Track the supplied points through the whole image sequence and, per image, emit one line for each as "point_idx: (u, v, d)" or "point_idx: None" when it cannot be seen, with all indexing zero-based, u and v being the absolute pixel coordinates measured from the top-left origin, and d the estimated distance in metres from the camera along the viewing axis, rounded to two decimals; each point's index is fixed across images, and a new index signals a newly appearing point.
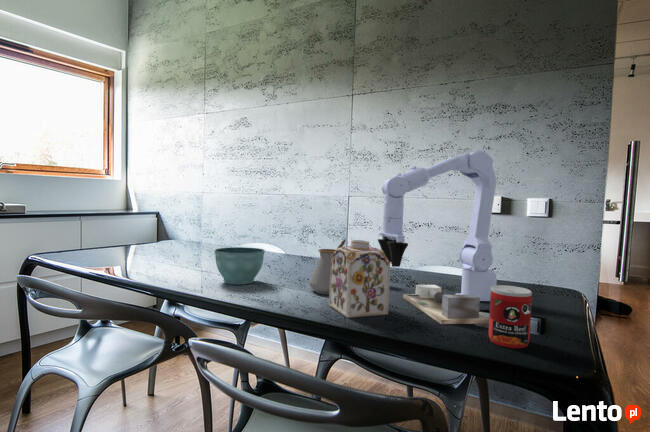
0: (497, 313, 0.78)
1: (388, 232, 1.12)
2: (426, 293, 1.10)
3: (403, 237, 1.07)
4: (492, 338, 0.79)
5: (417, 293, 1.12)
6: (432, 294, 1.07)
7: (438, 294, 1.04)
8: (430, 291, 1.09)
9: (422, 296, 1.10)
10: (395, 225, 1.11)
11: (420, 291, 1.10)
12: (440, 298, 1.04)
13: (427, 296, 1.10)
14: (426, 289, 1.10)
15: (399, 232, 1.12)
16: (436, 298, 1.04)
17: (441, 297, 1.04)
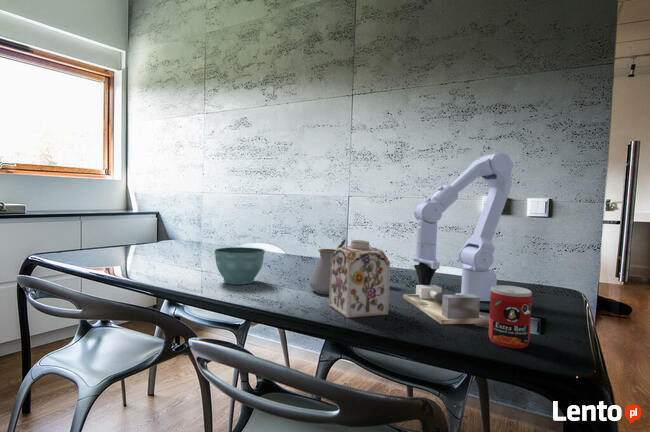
0: (497, 313, 0.78)
1: (422, 257, 1.12)
2: (426, 293, 1.09)
3: (438, 264, 1.07)
4: (492, 338, 0.79)
5: (417, 293, 1.12)
6: (432, 294, 1.07)
7: (438, 294, 1.04)
8: (430, 291, 1.09)
9: (422, 296, 1.09)
10: (429, 251, 1.11)
11: (420, 291, 1.10)
12: (440, 298, 1.04)
13: (427, 296, 1.10)
14: (426, 289, 1.09)
15: (433, 258, 1.12)
16: (436, 298, 1.04)
17: (441, 297, 1.04)
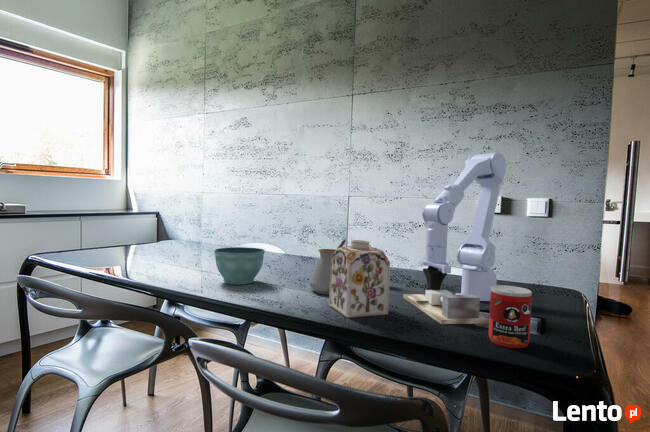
0: (497, 313, 0.78)
1: (431, 261, 1.06)
2: (437, 299, 1.03)
3: (449, 268, 1.01)
4: (492, 338, 0.79)
5: (427, 299, 1.05)
6: None
7: None
8: (441, 297, 1.02)
9: (432, 302, 1.03)
10: (439, 254, 1.05)
11: (430, 297, 1.03)
12: None
13: (438, 302, 1.03)
14: (437, 295, 1.03)
15: (443, 261, 1.05)
16: None
17: None
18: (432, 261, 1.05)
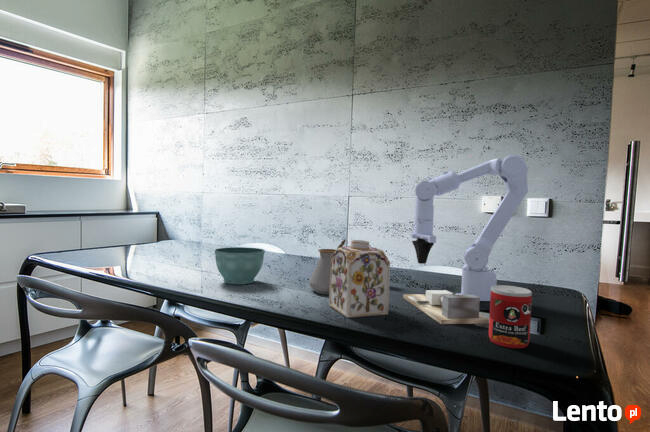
0: (497, 313, 0.78)
1: (419, 233, 1.19)
2: (437, 299, 1.03)
3: (435, 238, 1.15)
4: (492, 338, 0.79)
5: (427, 299, 1.05)
6: None
7: None
8: (441, 297, 1.02)
9: (433, 302, 1.03)
10: (426, 227, 1.19)
11: (431, 297, 1.03)
12: None
13: (438, 302, 1.03)
14: (437, 295, 1.03)
15: (430, 233, 1.19)
16: None
17: None
18: (420, 233, 1.19)
